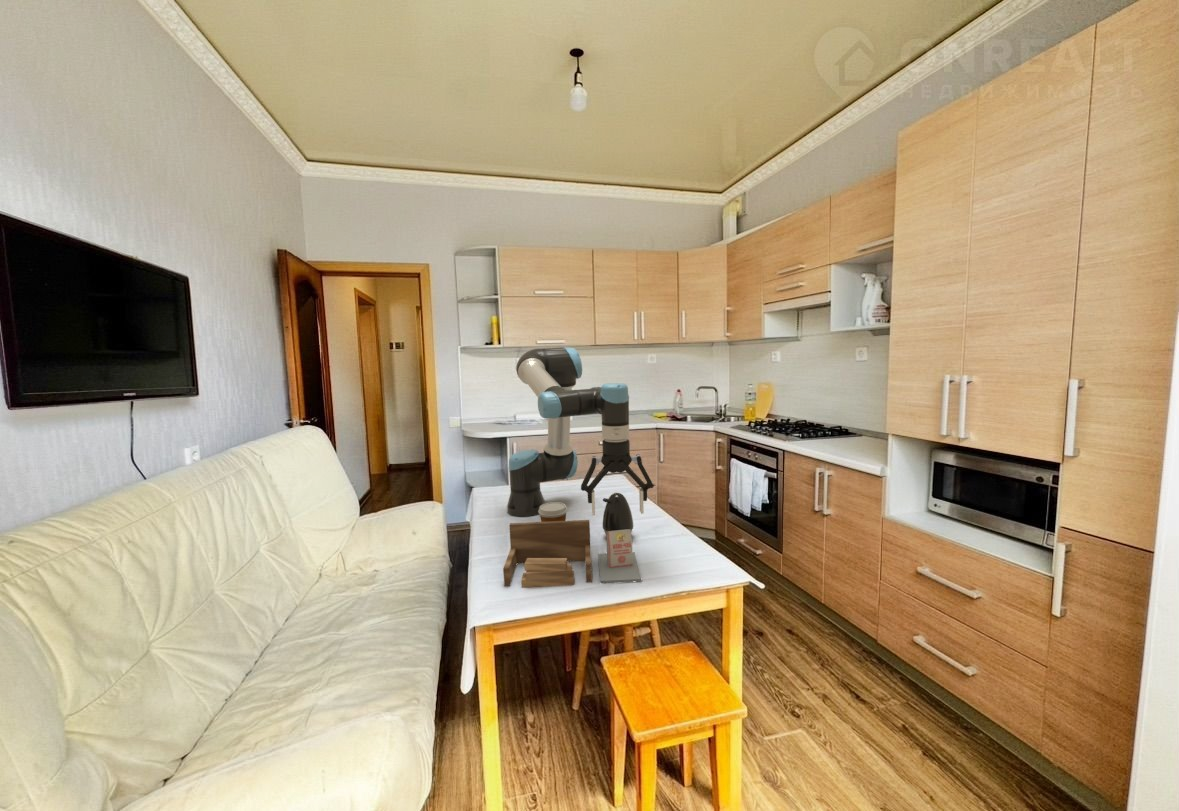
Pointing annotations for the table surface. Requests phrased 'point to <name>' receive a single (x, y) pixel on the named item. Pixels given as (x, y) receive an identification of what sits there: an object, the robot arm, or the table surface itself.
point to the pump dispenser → (617, 514)
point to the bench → (548, 544)
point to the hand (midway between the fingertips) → (617, 512)
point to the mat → (618, 571)
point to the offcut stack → (547, 572)
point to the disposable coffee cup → (552, 512)
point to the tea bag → (619, 548)
